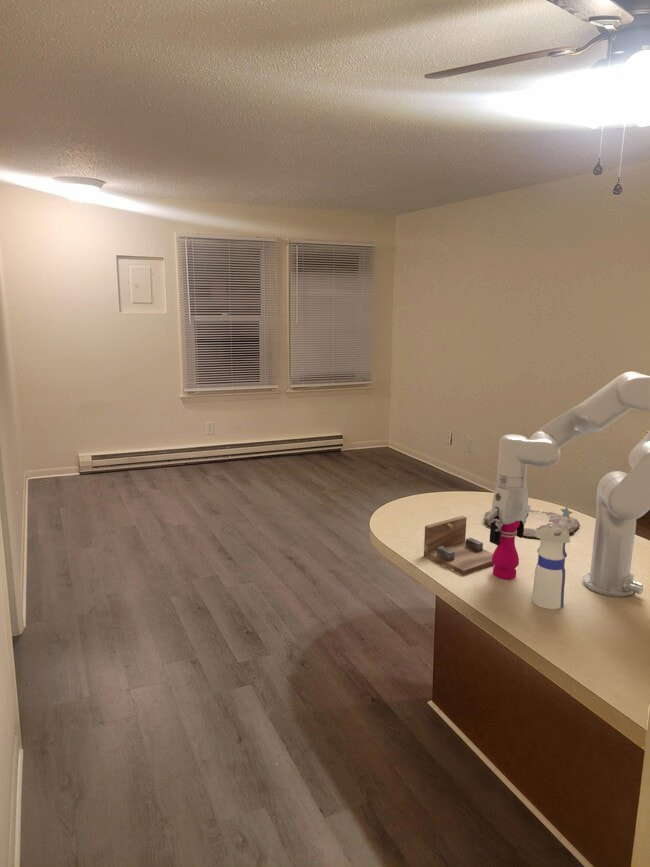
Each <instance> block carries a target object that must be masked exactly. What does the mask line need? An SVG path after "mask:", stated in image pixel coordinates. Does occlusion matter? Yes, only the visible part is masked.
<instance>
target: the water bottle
mask: <svg viewBox="0 0 650 867" xmlns="http://www.w3.org/2000/svg"><path fill="white" fill-rule="evenodd" d="M560 511H561V512H562V513H563V514H562V515H563V516H562V517H567V518H568V519H570V517H571V516H570V515H571V514H573V513H574V512H573V511H571V510H569V508H568V506H565V508H564V509H563V508H560ZM537 528H538V529H537V530H536V529H535V530H536V532H535V533H534V536H536V537H537V539H540V540H539V541H540V543H539V544H540V545H539V547H538V548H537V550H536V552H537V555H538V558H537V564H536V565H535V569H534V570H535V571H534V579H533V587H532V588H533V589H532V594H531V602H532V603H533V604H534V605H536V606H537V607H539V608H542V609H547V610H557V609H558V610H559V609H561V608H563V607H564V604H565V584H566V582H565V581H566V568H565V563H566V558H567V556H568V554H567V552H566V543H567V544H568V543H571V539H570V533H569V531H568V530H567V529H564V530H563V532H562V533H561V535H560V536H554V534H553V529H552V527H551V526H550V525H547V524H542V525H540V526H538V527H537ZM536 537H535V538H536Z"/></svg>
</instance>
